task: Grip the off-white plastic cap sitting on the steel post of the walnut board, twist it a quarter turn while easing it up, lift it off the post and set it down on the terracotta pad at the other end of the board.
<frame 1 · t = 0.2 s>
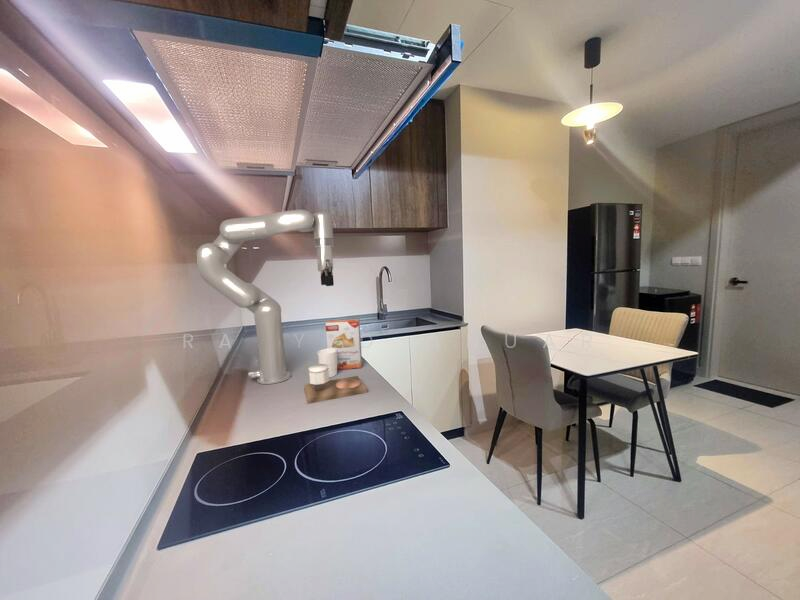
hand: (327, 285, 133), 36 cm above the worktop, tool pointing down, fingers open, 9 cm apart
cap: (319, 380, 112), point 4 cm above the worktop, touching post board
post board: (334, 390, 114), on the worktop
cracker box: (345, 368, 139), on the worktop
white cup: (328, 375, 131), on the worktop
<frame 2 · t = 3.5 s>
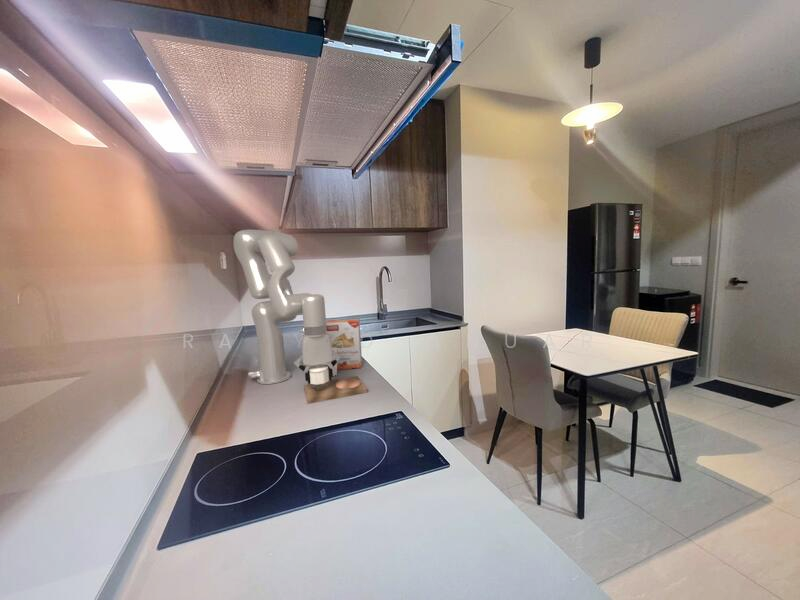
hand: (319, 380, 112), 5 cm above the worktop, tool pointing down, fingers closed on cap, 6 cm apart
cap: (319, 380, 112), point 4 cm above the worktop, touching gripper, post board
everything else where it was.
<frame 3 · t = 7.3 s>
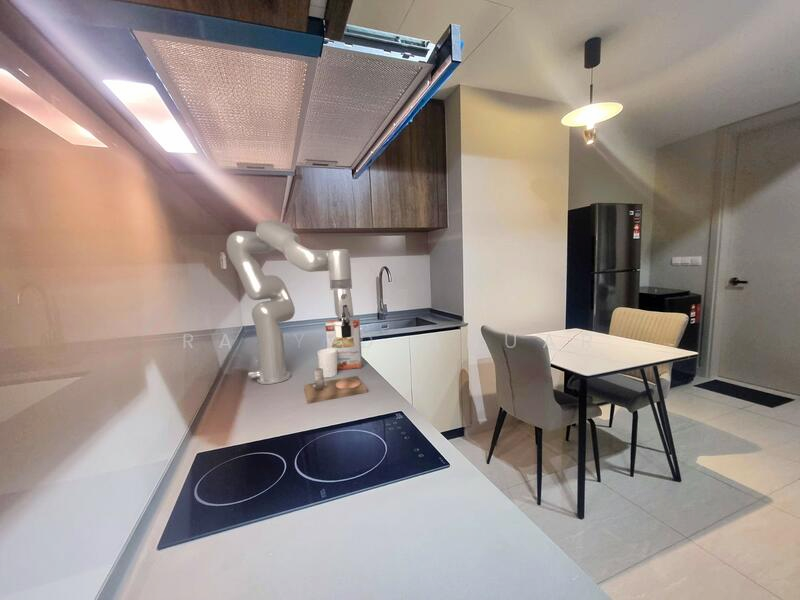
hand: (344, 334, 113), 20 cm above the worktop, tool pointing down, fingers closed on cap, 6 cm apart
cap: (344, 335, 113), point 20 cm above the worktop, touching gripper
everything else where it was.
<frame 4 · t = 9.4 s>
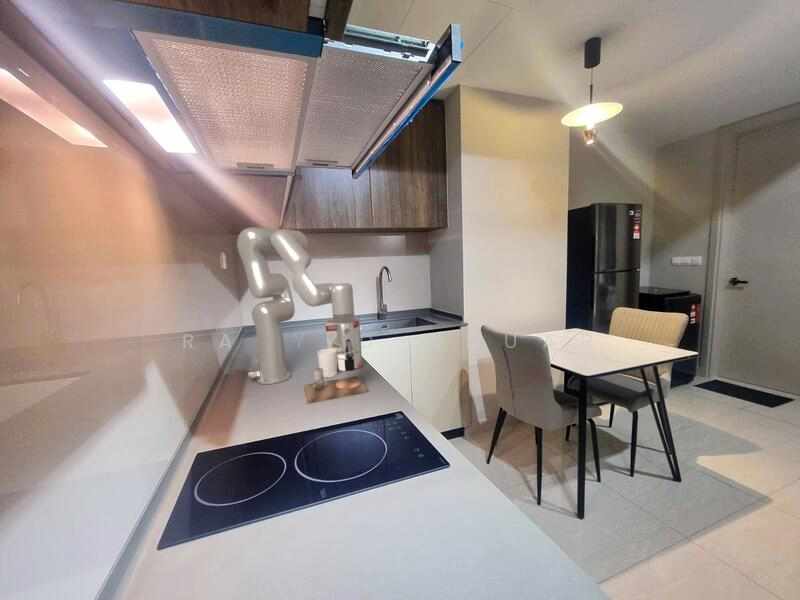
hand: (347, 367, 115), 8 cm above the worktop, tool pointing down, fingers closed on cap, 6 cm apart
cap: (347, 367, 115), point 8 cm above the worktop, touching gripper
everything else where it was.
when the fingers open (3 cm above the worktop, at t = 10.9 s): cap drops 1 cm, resting on post board.
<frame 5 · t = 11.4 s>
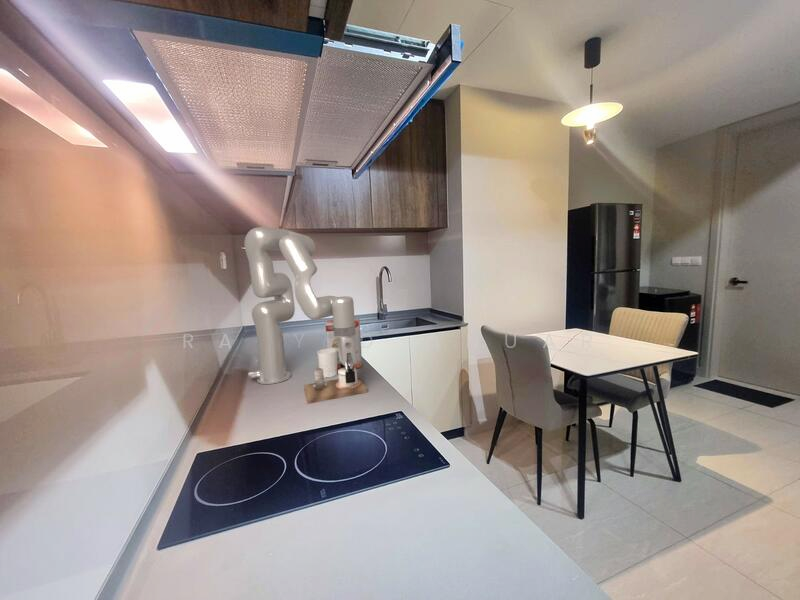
hand: (347, 378, 115), 4 cm above the worktop, tool pointing down, fingers open, 9 cm apart
cap: (348, 383, 115), point 2 cm above the worktop, touching post board
everything else where it was.
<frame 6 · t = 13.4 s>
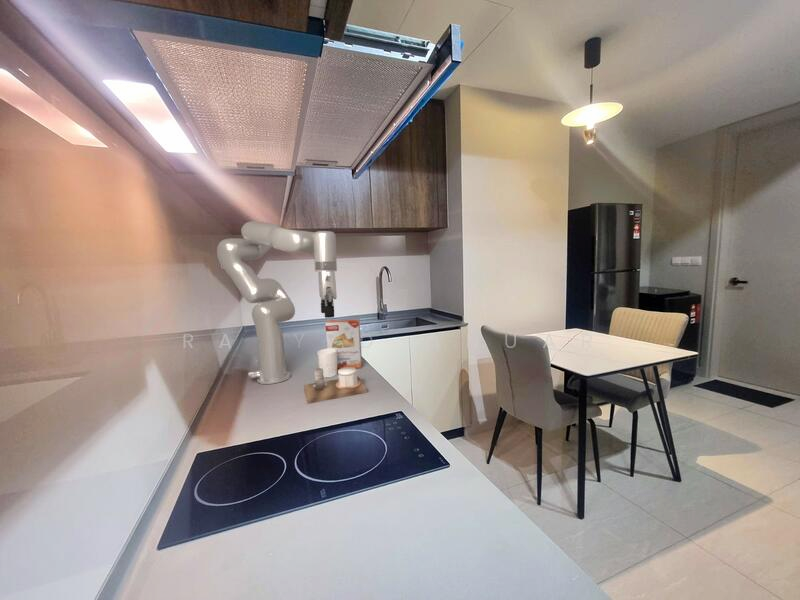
hand: (327, 314, 115), 27 cm above the worktop, tool pointing down, fingers open, 9 cm apart
nothing on the worktop moved.
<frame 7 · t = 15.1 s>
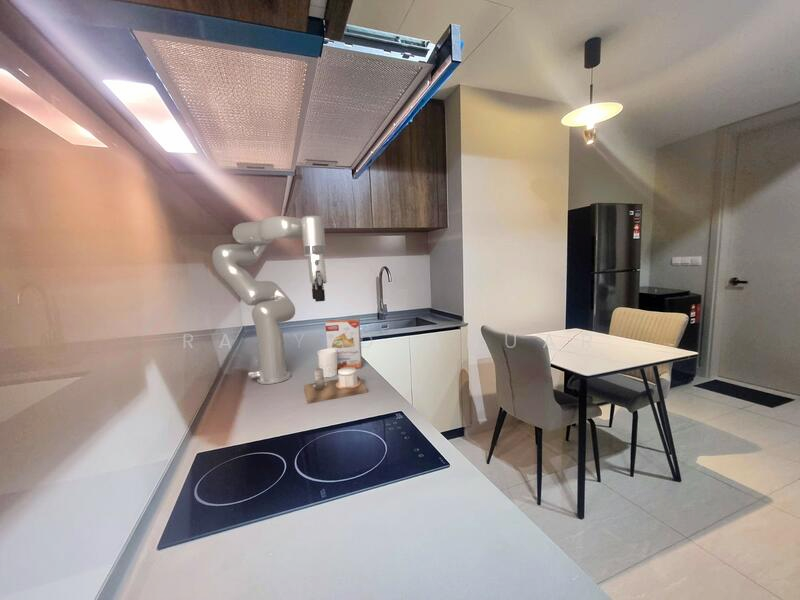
hand: (318, 299, 115), 32 cm above the worktop, tool pointing down, fingers open, 9 cm apart
nothing on the worktop moved.
at the end: cap 0.0 cm from the target spot on the post board, point 1.8 cm above the post board's base; cap tilted 0°; the gripper is holding nothing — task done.
